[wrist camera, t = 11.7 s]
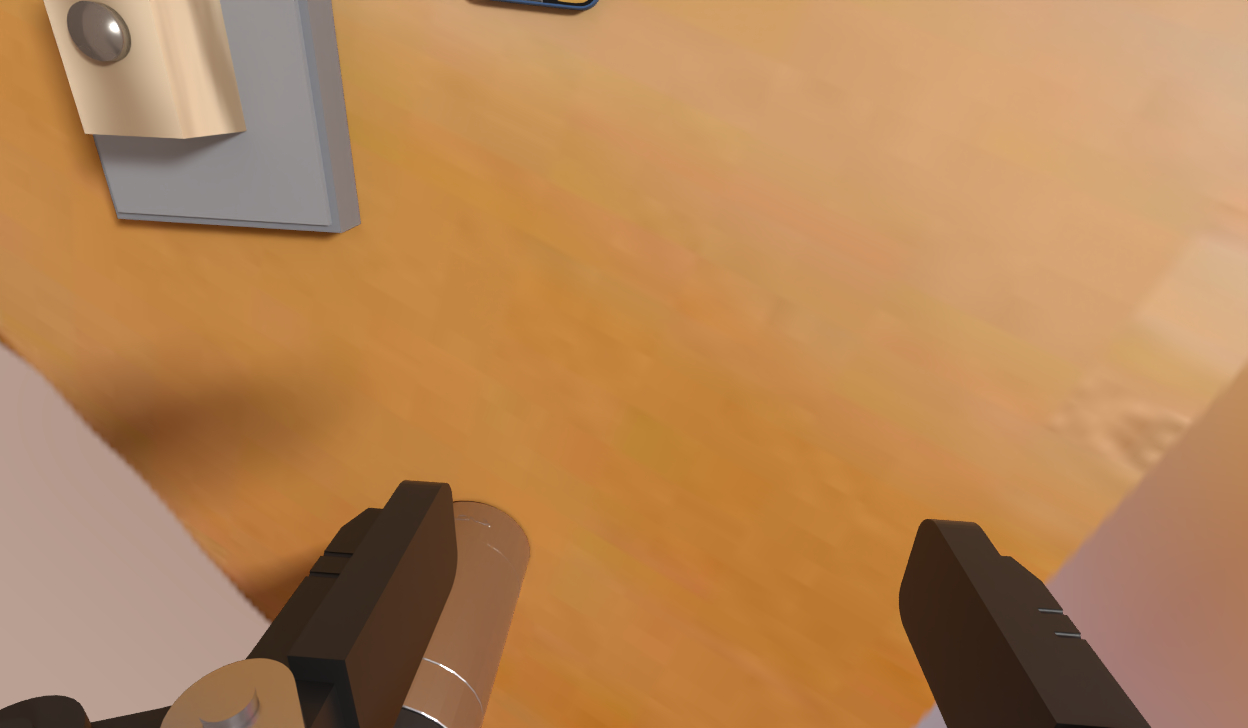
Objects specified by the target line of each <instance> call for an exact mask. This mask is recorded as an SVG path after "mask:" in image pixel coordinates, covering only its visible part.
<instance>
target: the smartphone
mask: <svg viewBox="0 0 1248 728" xmlns="http://www.w3.org/2000/svg"><path fill="white" fill-rule="evenodd" d="M492 1H501V2H510V3H519V4H528V5H536V6H545V7H554V8H563V9H573V10H587V9H590V8H592V7H593V6H594V5H595V4H596V3H597V2H598V0H492Z"/></svg>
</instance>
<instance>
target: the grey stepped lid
mask: <svg viewBox="0 0 1248 728" xmlns="http://www.w3.org/2000/svg"><path fill="white" fill-rule="evenodd" d="M220 4H221V9H222V14H223V19H224V24H225V28H226V33H227V38H228V43H229V48H230V53H231V57H232V62H233V67H234V72H235V77H236V82H237V86H238V91H239V96H240V101H241V106H242V111H243V116H244V120H245V125H246V130H247V131H243V132H235V133H227V134H218V135H210V136H202V137H194V138H186V139H178V138H159V137H139V136H119V135H100V134H93V137H94V140H95V144H96V147H97V150H98V154H99V157H100V160H101V164H102V167H103V170H104V174H105V177H106V180H107V184H108V187H109V190H110V194H111V197H112V200H113V204H114V207H115V210H116V214H117V217H118V219H133V220H148V221H164V222H179V223H195V224H211V225H226V226H242V227H257V228H273V229H289V230H304V231H320V232H335V233H342V232H344V231H347V230H349V229H351V228H353V227H355V226H357V225H359V224H361V221H360V214H359V206H358V199H357V191H356V184H355V176H354V169H353V161H352V154H351V146H350V139H349V131H348V124H347V116H346V109H345V101H344V94H343V86H342V79H341V71H340V64H339V56H338V49H337V41H336V34H335V26H334V19H333V11H332V4H331V0H220Z"/></svg>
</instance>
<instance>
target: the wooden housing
mask: <svg viewBox="0 0 1248 728" xmlns="http://www.w3.org/2000/svg"><path fill="white" fill-rule="evenodd" d="M43 1H44V4H45V7H46V10H47V13H48V17H49V20H50V23H51V26H52V29H53V33H54V36H55V39H56V42H57V45H58V49H59V52H60V55H61V58H62V61H63V65H64V68H65V71H66V74H67V77H68V81H69V84H70V87H71V90H72V93H73V97H74V100H75V103H76V106H77V110H78V113H79V116H80V119H81V122H82V126H83V129H84V132H85V134H100V135H119V136H139V137H159V138H178V139H186V138H194V137H202V136H210V135H218V134H227V133H235V132H243V131H247V130H246V125H245V120H244V116H243V111H242V106H241V101H240V96H239V91H238V86H237V82H236V77H235V72H234V67H233V62H232V57H231V53H230V48H229V43H228V38H227V33H226V28H225V24H224V19H223V14H222V9H221V4H220V0H43Z"/></svg>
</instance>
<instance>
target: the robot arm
mask: <svg viewBox="0 0 1248 728" xmlns="http://www.w3.org/2000/svg"><path fill="white" fill-rule="evenodd" d="M529 557H530V547H529V544H528V540H527V537H526V535H525V534H524V532H523V530H522V529H521V527H520V526H519V525H518V524H517V523H516V522H515V520H513V519H512V518H511V517H509V516H508V515H507V514H506V513H504V512H502V511H500V510H498V509H496V508H495V507H492V506H489V505H486V504H483V503H476V502H455V503H453V499H452V491H451V488H450V486H449V484H447V483H437V482H423V481H409V480H404V481H402V482H401V483H400V484H399V486H398V487H397V489H396V490H395V492H394V493H393V495H392V496H391V498H390V499H389V501H388V502H387V504H386V505H385V507H384V508H383V509H377V508H368V509H366V510H365V511H363V512H362V513H361V514H359V515H358V516H357V517H355V518H354V519H352V520H351V521H350V522H348V523H347V524H346V525H344V526H343V527H342V528H341V529H340V530H339V532H338V533H337V534H336V536H335V537H334V539H333V540H332V541H331V543H330V544H329V545H328V547H327V548H326V550H325V551H324V556H320V558H319V559H318V561H317V562H316V563H315V565H314V566H313V568H312V569H311V570H310V575H309V577H307V576H306V577H305V579H304V580H303V581H302V583H301V584H300V585H299V587H298V588H297V590H296V591H295V592H294V594H293V595H292V596H291V598H290V599H289V601H288V602H287V603H286V605H285V606H284V607H283V609H282V610H281V612H280V613H279V614H278V616H277V617H276V618H275V620H274V621H273V623H272V624H271V625H270V627H269V628H268V630H267V631H266V632H265V634H264V635H263V636H262V638H261V639H260V641H259V642H258V643H257V645H256V646H255V648H254V649H253V650H252V652H251V653H250V654H249V656H248V657H247V658H246V659H245V660H242V661H237V662H235V663H231V664H228V665H226V666H223V667H221V668H219V669H217V670H215V671H213V672H211V673H209V674H208V675H206V676H204V677H203V678H201V679H200V680H198V681H197V682H196V683H194V684H193V685H192V686H190V687H189V688H188V689H187V690H186V691H185V692H184V693H183V694H182V695H181V696H180V697H179V698H178V699H177V700H176V701H175V702H174V704H173V705H172V706H168V707H164V708H160V709H155V710H150V711H145V712H140V713H135V714H131V715H126V716H121V717H116V718H111V719H106V720H101V721H96V722H91V723H90V721H89V719H88V717H87V715H86V713H85V711H84V709H83V707H82V706H81V704H80V703H79V702H77V701H76V700H75V699H72V698H69V697H66V696H58V695H55V696H42V697H36V698H32V699H28V700H25V701H21V702H18V703H15V704H13V705H10V706H8V707H5V708H3V709H1V710H0V728H481V727H482V722H483V719H484V715H485V712H486V708H487V705H488V701H489V698H490V694H491V691H492V687H493V684H494V680H495V677H496V673H497V670H498V666H499V663H500V659H501V656H502V652H503V649H504V645H505V642H506V638H507V635H508V631H509V628H510V624H511V621H512V617H513V614H514V610H515V606H516V603H517V600H518V597H519V593H520V590H521V586H522V582H523V579H524V575H525V571H526V568H527V564H528V561H529ZM899 609H900V616H901V620H902V624H903V626H904V629H905V631H906V634H907V636H908V638H909V641H910V643H911V645H912V647H913V650H914V652H915V654H916V657H917V659H918V661H919V664H920V666H921V668H922V671H923V673H924V675H925V677H926V680H927V682H928V684H929V687H930V689H931V691H932V694H933V696H934V698H935V701H936V703H937V705H938V707H939V710H940V712H941V714H942V716H943V719H944V721H945V724H946V725H947V728H1151V727H1150V725H1149V724H1148V723H1147V721H1146V720H1145V719H1144V717H1143V716H1142V715H1141V713H1140V712H1139V711H1138V709H1137V708H1136V707H1135V705H1134V704H1133V703H1132V701H1131V700H1130V699H1129V697H1128V696H1127V695H1126V693H1125V692H1124V691H1123V689H1122V688H1121V687H1120V685H1119V684H1118V683H1117V681H1116V680H1115V679H1114V677H1113V676H1112V675H1111V673H1110V672H1109V671H1108V669H1107V668H1106V667H1105V665H1104V664H1103V663H1102V661H1101V660H1100V659H1099V657H1098V656H1097V655H1096V653H1095V652H1094V651H1093V649H1092V648H1091V647H1090V645H1089V644H1088V643H1087V641H1086V640H1083V639H1081V637H1080V634H1081V633H1080V632H1079V630H1078V629H1077V628H1076V626H1075V625H1074V624H1073V622H1071V620H1070V619H1069V617H1068V616H1067V615H1063V609H1062V608H1061V606H1060V605H1059V604H1058V602H1057V601H1056V600H1055V598H1054V597H1053V596H1052V594H1051V593H1050V592H1049V590H1048V589H1047V588H1046V586H1045V585H1044V584H1043V582H1042V581H1041V580H1039V579H1038V578H1037V577H1036V576H1034V575H1033V574H1032V573H1031V572H1029V571H1028V570H1027V569H1026V568H1024V567H1023V566H1022V565H1021V564H1019V563H1018V562H1017V561H1016V560H1014V559H1013V558H1012V557H1010V556H1001V555H1000V554H999V553H998V551H997V550H996V548H995V547H994V545H993V544H992V543H991V541H990V540H989V538H988V537H987V536H986V534H985V533H984V531H983V530H982V529H981V527H980V526H979V525H977V524H976V523H974V522H963V521H949V520H935V519H925V520H924V521H923V522H922V523H921V524H920V526H919V528H918V531H917V534H916V538H915V541H914V544H913V547H912V551H911V554H910V557H909V560H908V564H907V567H906V570H905V573H904V577H903V580H902V583H901V587H900V592H899Z"/></svg>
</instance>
